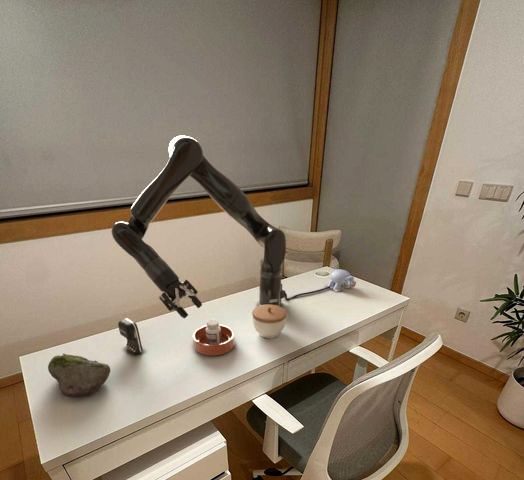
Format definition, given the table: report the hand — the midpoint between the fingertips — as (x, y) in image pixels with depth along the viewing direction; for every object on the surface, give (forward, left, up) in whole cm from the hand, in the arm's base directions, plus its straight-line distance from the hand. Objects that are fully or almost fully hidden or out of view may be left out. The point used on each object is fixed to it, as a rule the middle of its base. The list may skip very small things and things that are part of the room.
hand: (193, 311), depth 110 cm
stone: (+38, -5, -12) cm, 40 cm away
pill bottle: (-2, +7, -11) cm, 14 cm away
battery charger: (+20, -10, -12) cm, 25 cm away
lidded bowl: (-22, +15, -12) cm, 30 cm away
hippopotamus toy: (-80, +11, -12) cm, 82 cm away
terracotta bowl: (-2, +7, -12) cm, 14 cm away
